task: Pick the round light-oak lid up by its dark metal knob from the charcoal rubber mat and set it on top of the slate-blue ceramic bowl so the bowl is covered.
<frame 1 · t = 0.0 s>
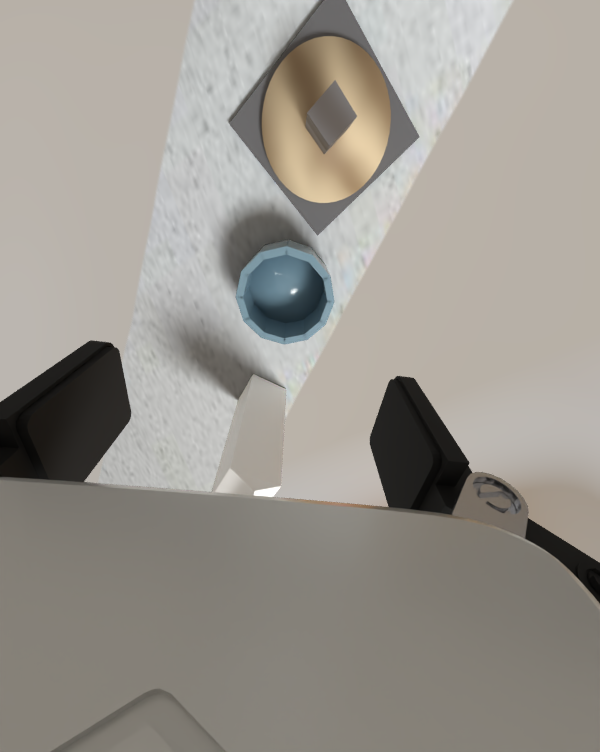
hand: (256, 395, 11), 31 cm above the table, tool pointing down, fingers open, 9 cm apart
mat: (325, 131, 31), on the table
lid: (325, 130, 31), resting on mat
bowl: (286, 286, 39), on the table
milk: (262, 394, 48), on the table
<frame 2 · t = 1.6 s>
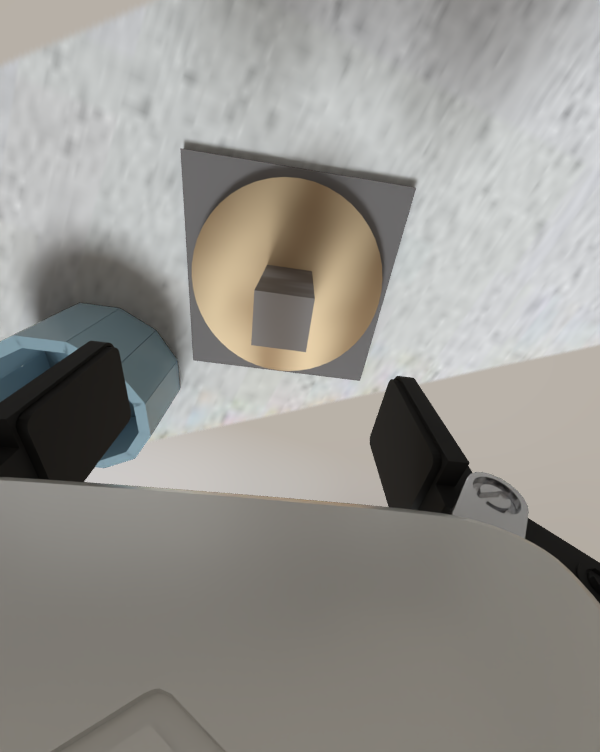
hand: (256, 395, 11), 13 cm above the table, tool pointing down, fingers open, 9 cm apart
mat: (287, 285, 22), on the table
lid: (287, 287, 21), resting on mat
bowl: (113, 367, 25), on the table
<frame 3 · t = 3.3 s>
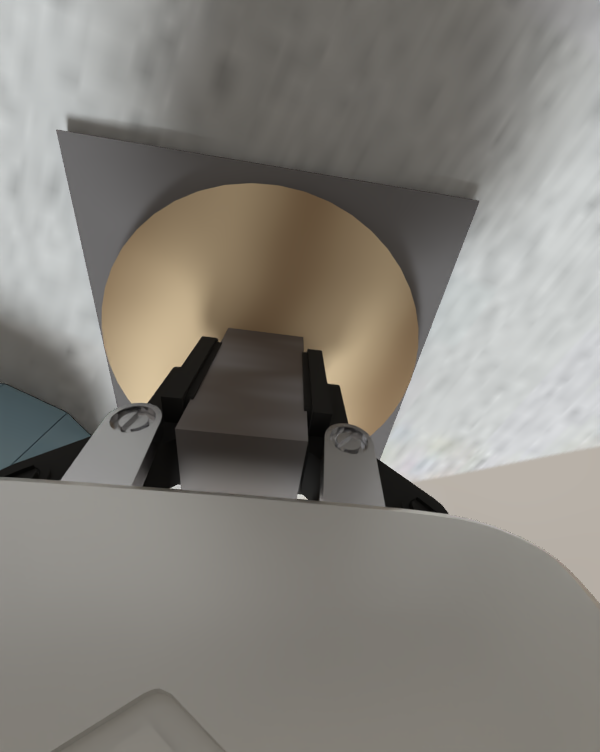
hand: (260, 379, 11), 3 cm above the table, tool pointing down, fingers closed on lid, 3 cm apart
mat: (265, 350, 14), on the table
lid: (265, 356, 13), point 1 cm above the table, touching gripper
bowl: (12, 460, 17), on the table
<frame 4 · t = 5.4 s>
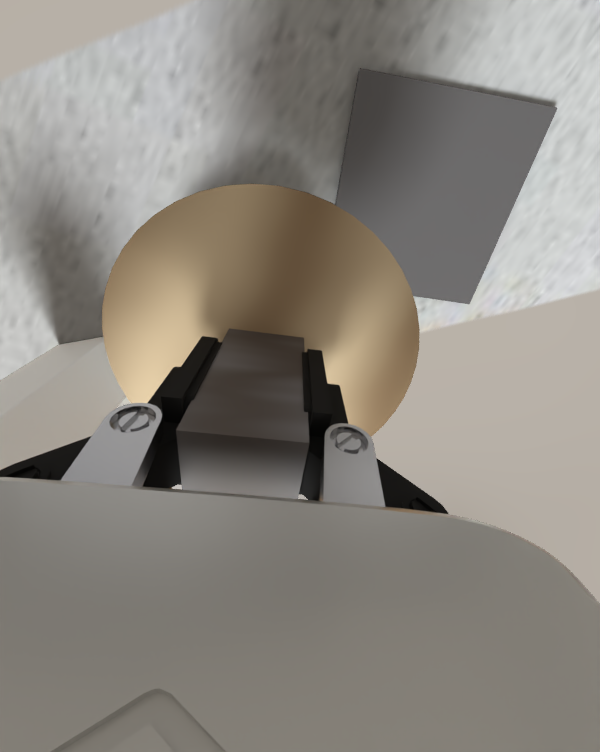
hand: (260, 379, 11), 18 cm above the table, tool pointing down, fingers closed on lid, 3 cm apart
mat: (422, 206, 24), on the table
lid: (265, 356, 13), point 16 cm above the table, touching gripper
milk: (100, 363, 32), on the table
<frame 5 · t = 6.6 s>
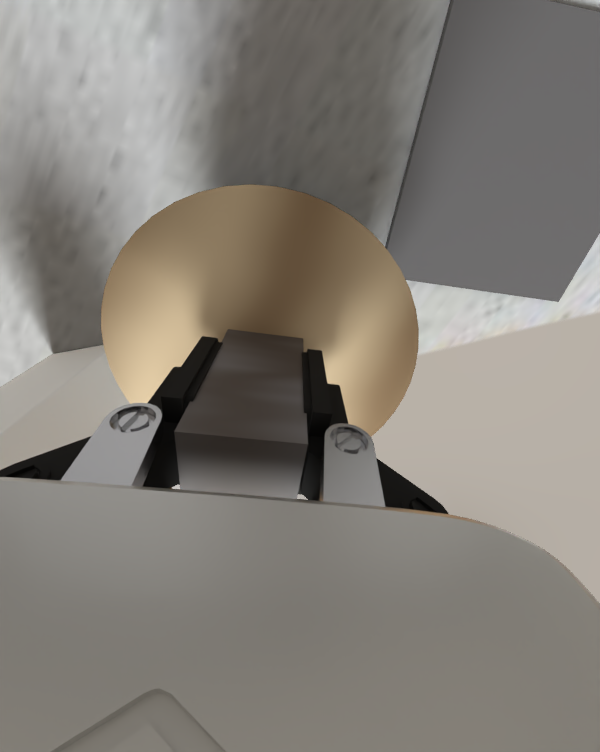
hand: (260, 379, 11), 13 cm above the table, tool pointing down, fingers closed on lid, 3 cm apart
mat: (514, 177, 19), on the table
lid: (264, 357, 13), point 11 cm above the table, touching gripper
milk: (103, 376, 27), on the table
when the fingers open (9 cm above the table, at t = 7.4 s): lid drops 1 cm, resting on bowl.
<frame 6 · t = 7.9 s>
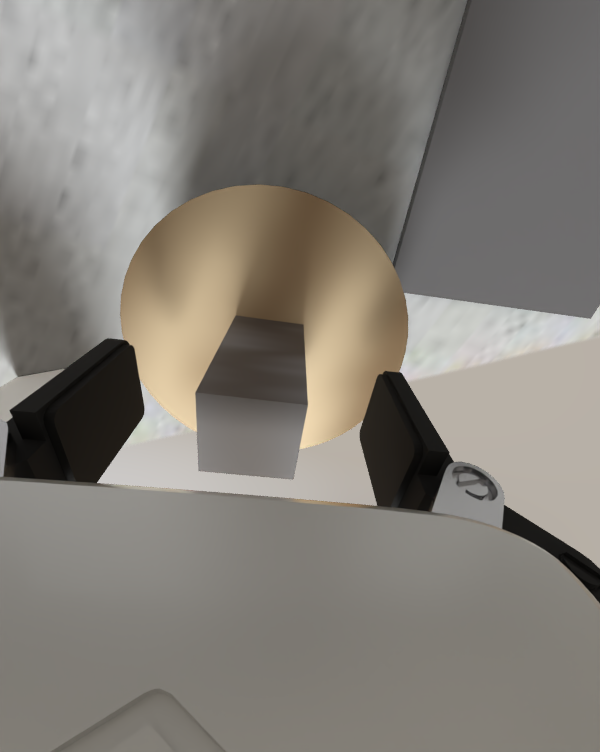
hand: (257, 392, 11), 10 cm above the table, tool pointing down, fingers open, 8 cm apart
mat: (546, 177, 16), on the table
lid: (268, 343, 14), point 6 cm above the table, touching bowl
milk: (76, 400, 24), on the table
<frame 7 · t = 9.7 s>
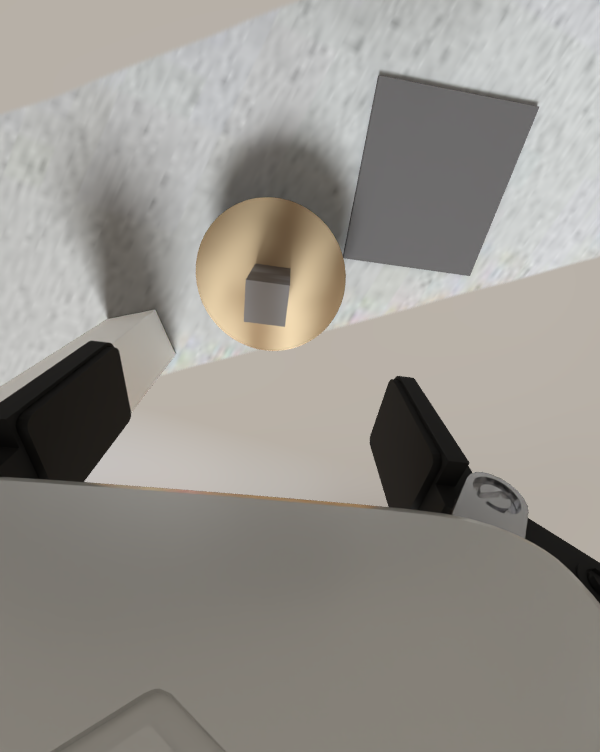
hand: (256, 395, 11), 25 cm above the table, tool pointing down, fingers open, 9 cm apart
mat: (429, 190, 28), on the table
lid: (272, 281, 27), point 6 cm above the table, touching bowl
milk: (143, 336, 36), on the table
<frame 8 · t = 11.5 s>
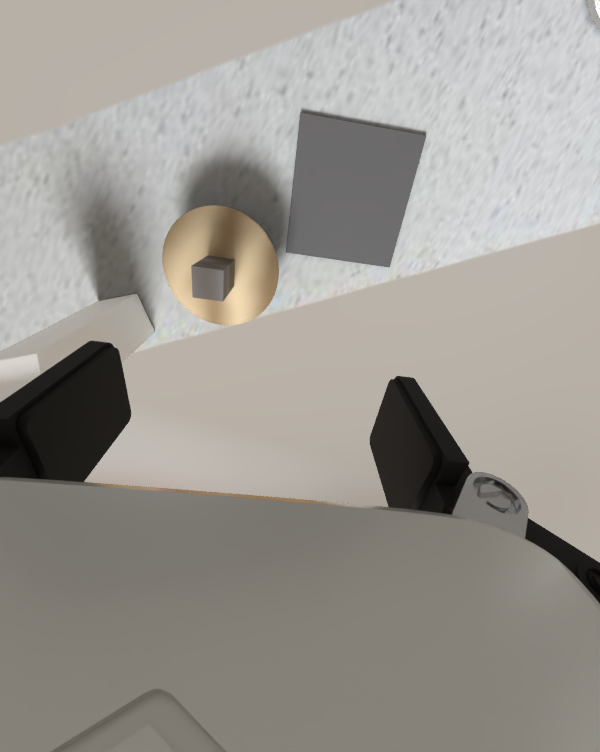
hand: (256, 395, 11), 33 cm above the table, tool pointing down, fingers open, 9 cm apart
mat: (349, 198, 36), on the table
lid: (222, 269, 34), point 6 cm above the table, touching bowl
milk: (128, 316, 44), on the table
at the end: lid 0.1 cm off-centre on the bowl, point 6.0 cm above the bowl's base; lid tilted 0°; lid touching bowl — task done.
